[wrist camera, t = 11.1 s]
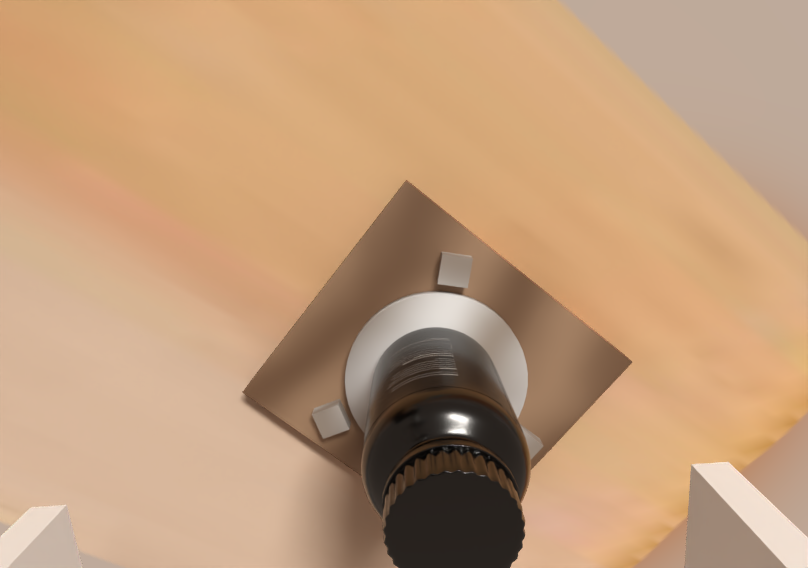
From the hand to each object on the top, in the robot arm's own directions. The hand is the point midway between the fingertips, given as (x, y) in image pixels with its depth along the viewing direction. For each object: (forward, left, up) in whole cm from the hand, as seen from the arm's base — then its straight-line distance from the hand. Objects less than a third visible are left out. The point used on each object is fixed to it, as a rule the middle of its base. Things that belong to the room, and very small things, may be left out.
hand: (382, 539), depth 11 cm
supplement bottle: (+4, -2, -18) cm, 18 cm away
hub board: (+4, -2, -20) cm, 20 cm away
